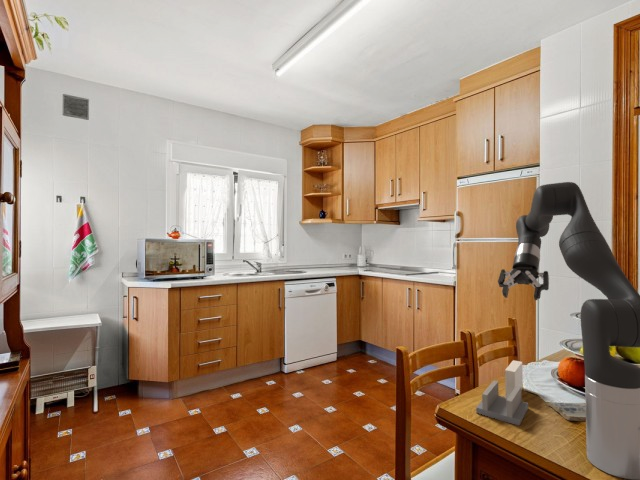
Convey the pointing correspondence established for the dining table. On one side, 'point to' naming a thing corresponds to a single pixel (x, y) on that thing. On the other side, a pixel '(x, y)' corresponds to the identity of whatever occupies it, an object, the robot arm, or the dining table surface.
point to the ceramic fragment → (570, 410)
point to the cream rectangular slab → (513, 377)
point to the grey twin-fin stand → (502, 405)
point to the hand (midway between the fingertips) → (520, 297)
